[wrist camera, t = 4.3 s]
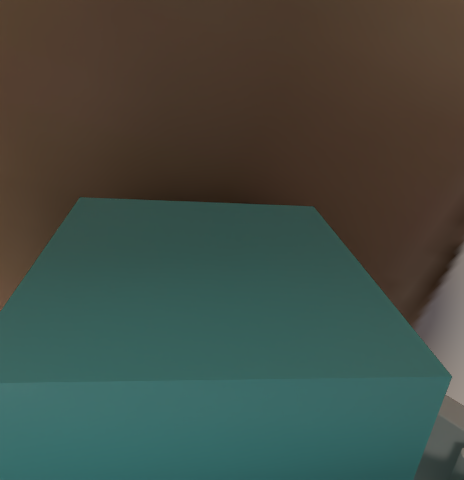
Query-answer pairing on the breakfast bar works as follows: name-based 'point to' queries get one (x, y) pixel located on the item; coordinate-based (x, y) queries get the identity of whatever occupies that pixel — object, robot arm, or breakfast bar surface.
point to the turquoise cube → (208, 352)
